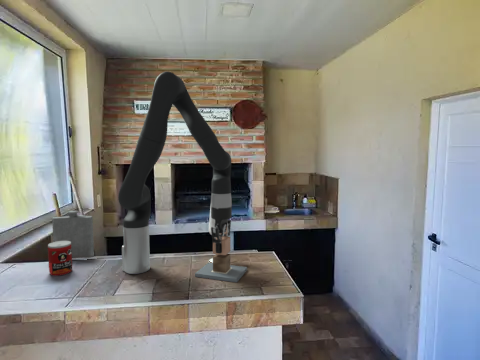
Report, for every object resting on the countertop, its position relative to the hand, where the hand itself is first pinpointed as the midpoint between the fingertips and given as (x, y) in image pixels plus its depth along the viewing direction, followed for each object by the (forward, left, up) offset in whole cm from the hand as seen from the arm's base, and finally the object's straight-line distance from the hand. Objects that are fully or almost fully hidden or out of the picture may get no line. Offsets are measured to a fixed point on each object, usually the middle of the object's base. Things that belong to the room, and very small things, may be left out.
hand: (221, 250), depth 117 cm
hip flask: (-67, -3, -9) cm, 68 cm away
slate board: (0, 0, -9) cm, 9 cm away
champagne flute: (-7, +12, -9) cm, 17 cm away
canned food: (-58, -18, -9) cm, 61 cm away
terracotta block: (0, 0, -1) cm, 1 cm away
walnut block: (0, 0, -7) cm, 7 cm away
